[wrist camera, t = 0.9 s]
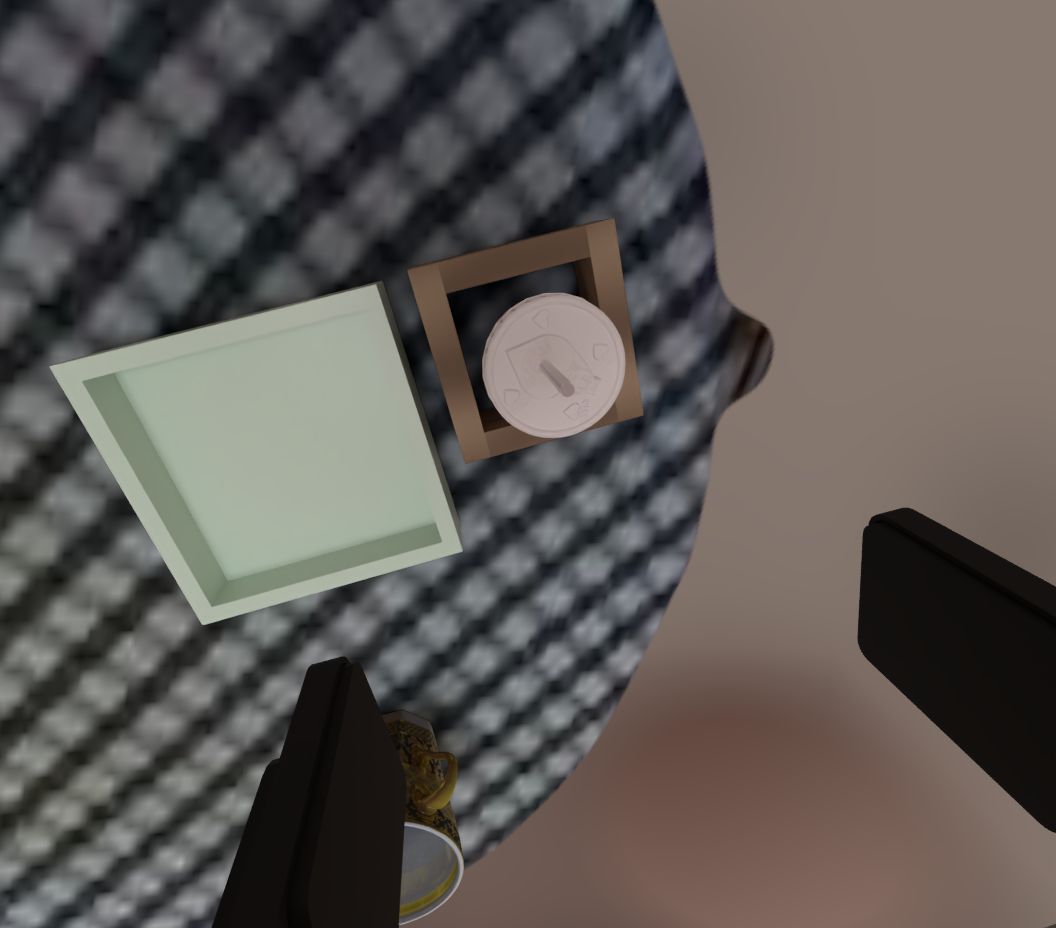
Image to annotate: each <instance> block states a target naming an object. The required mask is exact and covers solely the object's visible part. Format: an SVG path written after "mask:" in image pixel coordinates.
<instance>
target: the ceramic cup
mask: <svg viewBox="0 0 1056 928" xmlns="http://www.w3.org/2000/svg"><path fill="white" fill-rule="evenodd" d="M382 717H383V719H384V722H385V724H386V726H387V729H388V731H389V734H390V736H391V739H392V741H393V743H394V746H395V748H396V751H397V753H398V755H399V758H400V760H401V763H402V765H403V768H404V771H405V776H406V785H407V793H406V810H405V827H404V845H403V862H402V879H401V896H400V913H399V925H401V924H405V923H408V922H411V921H414V920H416V919H419V918H421V917H423V916H425V915H427V914H429V913H430V912H432V911H433V910H435V909H436V908H438V907H439V906H441V905H442V904H443V903H444V902H446V901H447V900H448V898H449V897H450V896H451V895H452V894H453V893H454V891H455V890H456V888H457V887H458V885H459V883H460V881H461V878H462V875H463V870H464V860H463V854H462V848H461V843H460V837H459V833H458V829H457V825H456V820H455V816H454V813H453V810H452V807H451V804H450V801H449V800H450V798H451V796H452V794H453V791H454V788H455V784H456V779H457V770H458V766H457V760H456V758H455V756H454V755H453V754H451V753H449V752H438V747H437V743H436V740H435V736H434V733H433V729H432V726H431V724H430V722H429V721H428V720H426V719H423V718H421V717H418V716H416V715H414V714H411V713H409V712H406V711H404V710H401V711H396V712H392V713H387V714H383V715H382ZM443 759H447V760H448V769H447V773H446V775H445V777H443V772H442V767H441V761H440V760H443Z"/></svg>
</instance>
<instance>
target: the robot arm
mask: <svg viewBox="0 0 1056 928" xmlns="http://www.w3.org/2000/svg"><path fill="white" fill-rule="evenodd" d="M858 644H859V647H860V649H861V652H862V653H863V655H864V656H865V657H866V659H867V660H868V661H869V662H870V663H872V665H874V666H875V667H876V668H877V669H878V670H879V671H880V672H881V673H882V674H883V675H884V676H885V677H886V678H887V679H888V680H889V681H890V682H891V683H893V684H894V685H895V686H896V687H897V688H898V689H899V690H900V691H901V692H902V693H903V694H904V695H905V696H906V697H907V698H908V699H909V700H910V701H911V702H913V703H914V704H915V705H916V706H917V707H918V708H919V709H920V710H921V711H922V712H923V713H924V714H925V715H926V716H927V717H928V718H929V719H930V720H931V721H932V722H934V723H935V724H936V725H937V726H938V727H939V728H940V729H941V730H942V731H943V732H944V733H945V734H946V735H947V736H948V737H949V738H950V739H951V740H953V742H955V743H956V744H957V745H958V746H959V747H960V748H961V749H962V750H963V751H964V752H965V753H966V754H967V755H968V756H969V757H970V758H971V759H973V761H975V762H976V763H977V764H978V765H979V766H980V767H981V768H982V769H983V770H984V771H985V772H986V773H987V774H988V775H989V776H990V777H992V779H994V780H995V781H996V782H997V783H998V784H999V785H1000V786H1001V787H1002V788H1003V789H1004V790H1005V791H1006V792H1007V793H1008V794H1009V795H1010V796H1011V797H1012V798H1014V799H1015V800H1016V801H1017V802H1018V803H1019V804H1020V805H1021V806H1022V807H1023V808H1024V809H1025V810H1026V811H1027V812H1028V813H1029V814H1030V815H1031V816H1033V817H1034V818H1035V819H1036V820H1037V821H1038V822H1039V823H1040V824H1041V825H1043V826H1044V827H1045V828H1047V829H1048V830H1050V831H1052V832H1055V833H1056V587H1055V586H1054V585H1051V584H1050V583H1048V582H1046V581H1044V580H1043V579H1041V578H1039V577H1037V576H1035V575H1033V574H1031V573H1030V572H1028V571H1026V570H1024V569H1022V568H1020V567H1019V566H1017V565H1015V564H1013V563H1011V562H1009V561H1007V560H1006V559H1004V558H1002V557H1000V556H998V555H996V554H995V553H993V552H991V551H989V550H987V549H985V548H984V547H981V546H980V545H978V544H976V543H974V542H972V541H971V540H969V539H967V538H965V537H963V536H961V535H960V534H958V533H956V532H954V531H952V530H950V529H948V528H947V527H945V526H943V525H941V524H939V523H937V522H935V521H934V520H932V519H930V518H928V517H926V516H924V515H923V514H921V513H919V512H917V511H915V510H913V509H910V508H900V509H897V510H893V511H889V512H885V513H881V514H878V515H875V516H873V517H872V518H871V520H870V521H869V525H868V526H866V527H865V529H864V532H863V542H862V561H861V581H860V600H859V619H858ZM406 793H407V785H406V776H405V771H404V768H403V765H402V763H401V760H400V758H399V755H398V753H397V751H396V748H395V746H394V743H393V741H392V739H391V736H390V734H389V731H388V729H387V726H386V724H385V722H384V719H383V717H382V714H381V712H380V710H379V707H378V705H377V702H376V700H375V698H374V695H373V693H372V690H371V688H370V686H369V683H368V681H367V678H366V676H365V674H364V671H363V669H362V667H361V665H360V663H359V662H354V663H350V662H349V660H348V659H347V658H346V657H343V656H342V657H339V658H335V659H331V660H327V661H323V662H320V663H316V664H312V665H311V666H309V668H308V670H307V673H306V676H305V679H304V682H303V685H302V689H301V692H300V695H299V698H298V701H297V705H296V708H295V711H294V714H293V717H292V721H291V724H290V727H289V730H288V733H287V737H286V740H285V743H284V746H283V749H282V753H281V756H280V758H279V759H275V760H272V761H271V762H270V763H269V764H268V766H267V767H266V769H265V772H264V774H263V776H262V779H261V782H260V785H259V788H258V791H257V794H256V797H255V800H254V803H253V806H252V809H251V812H250V815H249V818H248V821H247V824H246V827H245V830H244V833H243V836H242V839H241V842H240V845H239V848H238V851H237V854H236V857H235V860H234V863H233V866H232V869H231V871H230V874H229V877H228V880H227V883H226V886H225V889H224V892H223V895H222V898H221V901H220V904H219V907H218V910H217V913H216V916H215V919H214V922H213V925H212V928H399V913H400V896H401V879H402V862H403V845H404V827H405V810H406ZM1045 928H1056V924H1055V925H1051V926H1049V927H1045Z"/></svg>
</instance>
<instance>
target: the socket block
mask: <svg viewBox="0 0 1056 928" xmlns="http://www.w3.org/2000/svg"><path fill="white" fill-rule="evenodd" d="M572 261H574V266H575V272H576V277H577V283H578V288H579V294H580V297H581V298H583V299H585V300H586V301H588V302H589V303H591V304H593V305H594V306H596V307H598V308H599V309H600V310H601V311H602V312H603V313H604V314H605V315H606V316H607V317H608V318H609V319H610V320H611V321H612V323H613V324H614V326H615V327H616V329H617V331H618V333H619V335H620V337H621V340H622V343H623V347H624V352H625V375H624V380H623V383H622V387H621V389H620V392H619V394H618V396H617V398H616V400H615V402H614V403H613V405H612V406H611V408H610V409H609V410H608V412H607V413H606V414H605V415H604V416H603V417H602V418H601V419H600V420H599V421H597V422H596V423H595V424H593V425H592V426H590V427H589V428H587V429H585V430H583V431H581V432H584V431H588V430H591V429H595V428H599V427H602V426H606V425H609V424H613V423H617V422H620V421H624V420H628V419H631V418H635V417H639V416H642V415H643V408H642V401H641V394H640V388H639V381H638V374H637V368H636V361H635V354H634V347H633V341H632V334H631V327H630V321H629V314H628V307H627V300H626V294H625V287H624V280H623V273H622V267H621V260H620V253H619V247H618V240H617V233H616V226H615V220H614V218H612V219H606V220H600V221H595V222H590V223H586V224H582V225H578V226H574V227H570V228H566V229H562V230H558V231H554V232H550V233H546V234H542V235H538V236H534V237H530V238H526V239H522V240H518V241H514V242H510V243H506V244H502V245H498V246H494V247H490V248H486V249H482V250H478V251H474V252H470V253H466V254H462V255H458V256H454V257H450V258H446V259H442V260H438V261H434V262H430V263H426V264H422V265H418V266H414V267H411V268H409V269H408V270H407V271H408V275H409V278H410V281H411V285H412V288H413V291H414V295H415V298H416V301H417V305H418V308H419V311H420V315H421V318H422V321H423V325H424V328H425V331H426V335H427V338H428V341H429V345H430V348H431V351H432V355H433V358H434V361H435V365H436V368H437V371H438V375H439V378H440V381H441V385H442V388H443V391H444V395H445V398H446V401H447V405H448V408H449V411H450V415H451V418H452V421H453V425H454V428H455V431H456V435H457V438H458V441H459V445H460V448H461V451H462V455H463V458H464V461H465V464H467V463H471V462H474V461H478V460H482V459H485V458H489V457H493V456H496V455H500V454H504V453H507V452H511V451H515V450H518V449H522V448H526V447H529V446H533V445H537V444H540V443H544V442H547V441H551V440H555V439H558V438H543V437H537V436H533V435H530V434H527V433H525V432H523V431H521V430H519V429H517V428H515V427H514V426H512V425H511V424H510V423H509V422H507V421H506V420H505V419H504V418H503V417H502V415H501V414H500V413H499V412H498V410H497V409H496V408H495V409H491V410H487V411H483V412H480V413H479V411H478V407H477V404H476V400H475V397H474V393H473V389H472V386H471V382H470V379H469V375H468V371H467V368H466V364H465V361H464V357H463V353H462V350H461V346H460V343H459V339H458V335H457V332H456V328H455V325H454V321H453V317H452V314H451V310H450V306H449V303H448V299H447V296H446V294H447V293H451V292H454V291H458V290H462V289H466V288H470V287H474V286H478V285H482V284H486V283H490V282H494V281H498V280H502V279H506V278H510V277H513V276H517V275H521V274H525V273H529V272H533V271H537V270H541V269H545V268H549V267H553V266H557V265H561V264H565V263H568V262H572ZM579 433H580V432H579ZM576 434H577V433H576ZM560 438H562V437H560Z"/></svg>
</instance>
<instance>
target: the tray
mask: <svg viewBox="0 0 1056 928" xmlns="http://www.w3.org/2000/svg"><path fill="white" fill-rule="evenodd" d="M49 367H50V369H51V370H52V372H53V374H54V376H55V377H56V379H57V381H58V382H59V384H60V386H61V387H62V389H63V391H64V392H65V394H66V396H67V397H68V399H69V401H70V402H71V404H72V406H73V408H74V409H75V411H76V413H77V414H78V416H79V418H80V419H81V421H82V423H83V424H84V426H85V428H86V429H87V431H88V433H89V435H90V436H91V438H92V440H93V441H94V443H95V445H96V446H97V448H98V450H99V451H100V453H101V455H102V456H103V458H104V460H105V462H106V463H107V465H108V467H109V468H110V470H111V472H112V473H113V475H114V477H115V478H116V480H117V482H118V483H119V485H120V487H121V489H122V490H123V492H124V494H125V495H126V497H127V499H128V500H129V502H130V504H131V505H132V507H133V509H134V510H135V512H136V514H137V516H138V517H139V519H140V521H141V522H142V524H143V526H144V527H145V529H146V531H147V532H148V534H149V536H150V537H151V539H152V541H153V543H154V544H155V546H156V548H157V549H158V551H159V553H160V554H161V556H162V558H163V559H164V561H165V563H166V564H167V566H168V568H169V569H170V571H171V573H172V575H173V576H174V578H175V580H176V581H177V583H178V585H179V586H180V588H181V590H182V591H183V593H184V595H185V596H186V598H187V600H188V602H189V603H190V605H191V607H192V608H193V610H194V612H195V613H196V615H197V617H198V618H199V620H200V622H201V623H202V625H205V624H209V623H212V622H216V621H219V620H223V619H226V618H230V617H233V616H237V615H240V614H244V613H247V612H251V611H255V610H258V609H262V608H265V607H269V606H272V605H276V604H279V603H283V602H286V601H290V600H293V599H297V598H300V597H304V596H307V595H311V594H314V593H318V592H321V591H325V590H329V589H332V588H336V587H339V586H343V585H346V584H350V583H353V582H357V581H360V580H364V579H367V578H371V577H374V576H378V575H381V574H385V573H388V572H392V571H395V570H399V569H403V568H406V567H410V566H413V565H417V564H420V563H424V562H427V561H431V560H434V559H438V558H441V557H445V556H448V555H452V554H455V553H459V552H462V551H463V546H462V535H461V524H460V521H459V518H458V515H457V512H456V509H455V506H454V503H453V499H452V496H451V493H450V490H449V487H448V484H447V481H446V478H445V474H444V471H443V468H442V465H441V462H440V459H439V456H438V453H437V449H436V446H435V443H434V440H433V437H432V434H431V431H430V428H429V424H428V421H427V418H426V415H425V412H424V409H423V406H422V403H421V399H420V396H419V393H418V390H417V387H416V384H415V381H414V378H413V374H412V371H411V368H410V365H409V362H408V359H407V356H406V353H405V349H404V346H403V343H402V340H401V337H400V334H399V331H398V328H397V324H396V321H395V318H394V315H393V312H392V309H391V306H390V303H389V299H388V296H387V293H386V290H385V287H384V284H383V281H379V282H375V283H371V284H367V285H363V286H359V287H355V288H351V289H347V290H343V291H339V292H335V293H331V294H327V295H323V296H319V297H315V298H311V299H307V300H303V301H299V302H295V303H291V304H287V305H283V306H279V307H275V308H271V309H267V310H263V311H259V312H255V313H251V314H247V315H243V316H239V317H235V318H231V319H227V320H223V321H219V322H215V323H211V324H207V325H203V326H199V327H195V328H191V329H187V330H183V331H179V332H176V333H172V334H168V335H164V336H160V337H156V338H152V339H148V340H144V341H140V342H136V343H132V344H128V345H124V346H120V347H116V348H112V349H108V350H104V351H100V352H96V353H92V354H89V355H85V356H82V357H79V358H76V359H72V360H69V361H66V362H62V363H59V364H56V365H53V366H49Z"/></svg>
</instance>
